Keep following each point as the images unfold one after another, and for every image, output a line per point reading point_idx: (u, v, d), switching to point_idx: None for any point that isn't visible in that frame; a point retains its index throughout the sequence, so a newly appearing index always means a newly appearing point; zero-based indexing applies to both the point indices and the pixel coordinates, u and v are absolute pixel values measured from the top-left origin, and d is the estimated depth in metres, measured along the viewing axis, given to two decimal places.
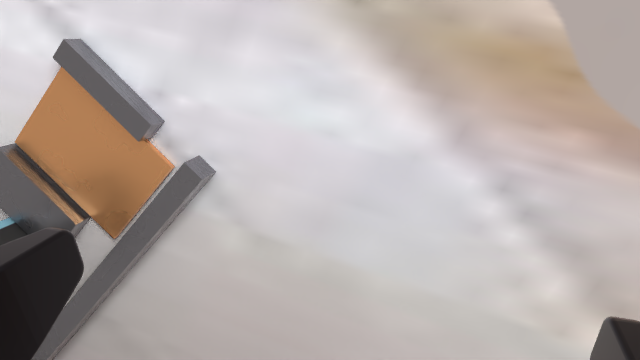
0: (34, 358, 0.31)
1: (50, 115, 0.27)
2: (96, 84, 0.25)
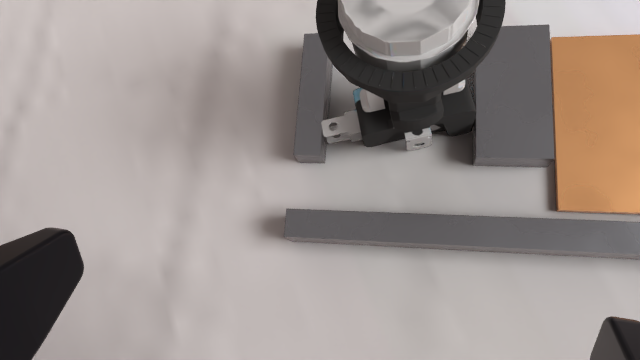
0: (312, 223, 0.21)
1: (628, 53, 0.21)
2: None
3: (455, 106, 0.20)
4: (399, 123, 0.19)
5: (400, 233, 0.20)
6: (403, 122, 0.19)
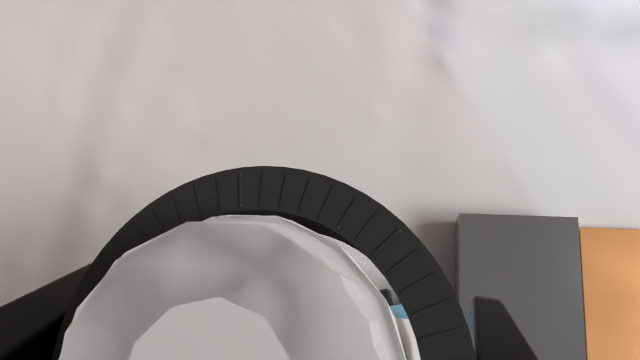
0: None
1: None
2: None
3: None
4: None
5: None
6: None
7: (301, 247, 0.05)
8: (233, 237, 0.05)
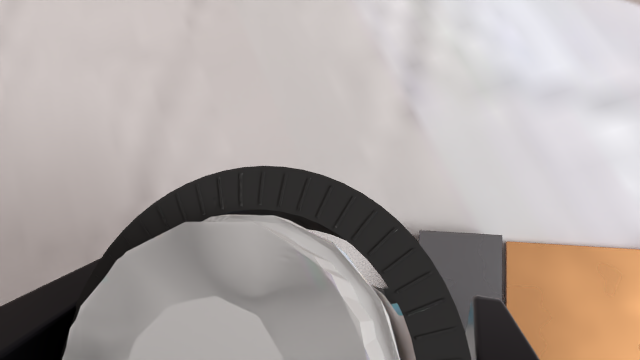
0: None
1: (593, 270, 0.18)
2: None
3: None
4: None
5: None
6: None
7: (295, 247, 0.05)
8: (229, 237, 0.05)
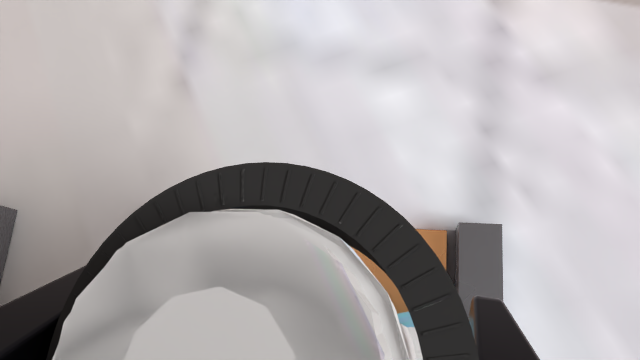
0: None
1: None
2: None
3: None
4: None
5: None
6: None
7: (304, 237, 0.05)
8: (236, 227, 0.05)
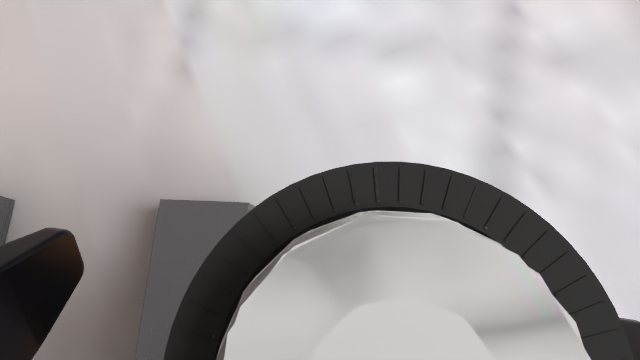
0: None
1: None
2: None
3: None
4: None
5: None
6: None
7: (494, 246, 0.05)
8: (419, 233, 0.05)
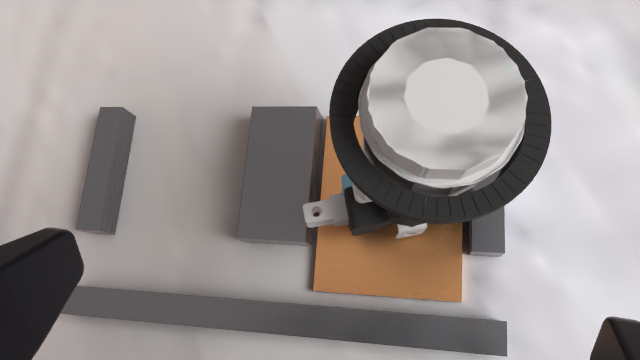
0: (81, 300, 0.22)
1: None
2: None
3: None
4: (398, 219, 0.17)
5: (157, 313, 0.21)
6: (403, 219, 0.17)
7: (483, 38, 0.12)
8: (451, 34, 0.12)
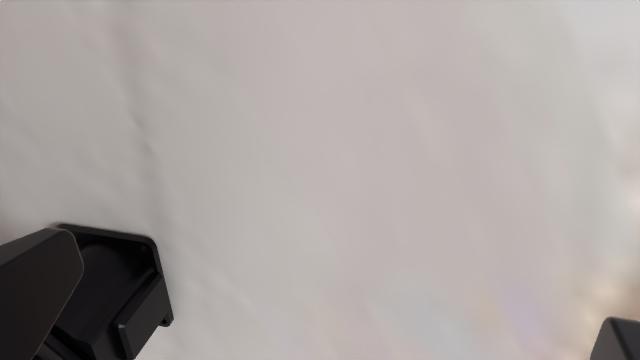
0: None
1: None
2: None
3: None
4: None
5: None
6: None
7: None
8: None
